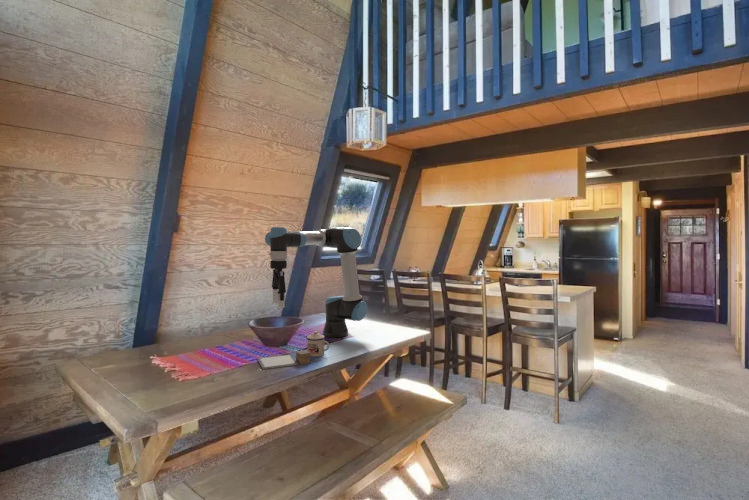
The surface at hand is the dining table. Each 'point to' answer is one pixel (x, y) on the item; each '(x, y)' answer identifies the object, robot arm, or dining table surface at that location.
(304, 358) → the walnut block
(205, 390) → the dining table surface
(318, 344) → the teacup with lid
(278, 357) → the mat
